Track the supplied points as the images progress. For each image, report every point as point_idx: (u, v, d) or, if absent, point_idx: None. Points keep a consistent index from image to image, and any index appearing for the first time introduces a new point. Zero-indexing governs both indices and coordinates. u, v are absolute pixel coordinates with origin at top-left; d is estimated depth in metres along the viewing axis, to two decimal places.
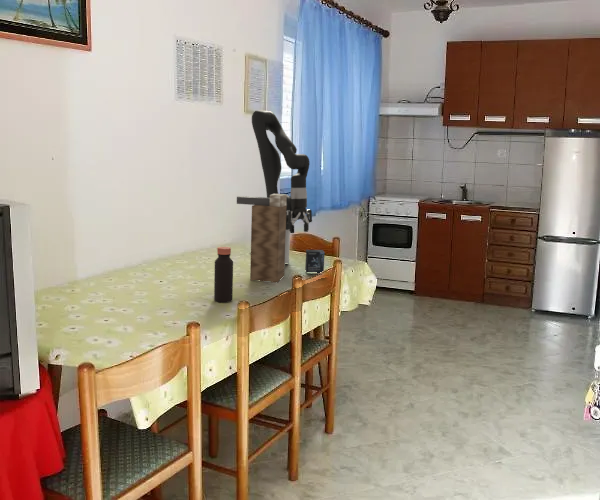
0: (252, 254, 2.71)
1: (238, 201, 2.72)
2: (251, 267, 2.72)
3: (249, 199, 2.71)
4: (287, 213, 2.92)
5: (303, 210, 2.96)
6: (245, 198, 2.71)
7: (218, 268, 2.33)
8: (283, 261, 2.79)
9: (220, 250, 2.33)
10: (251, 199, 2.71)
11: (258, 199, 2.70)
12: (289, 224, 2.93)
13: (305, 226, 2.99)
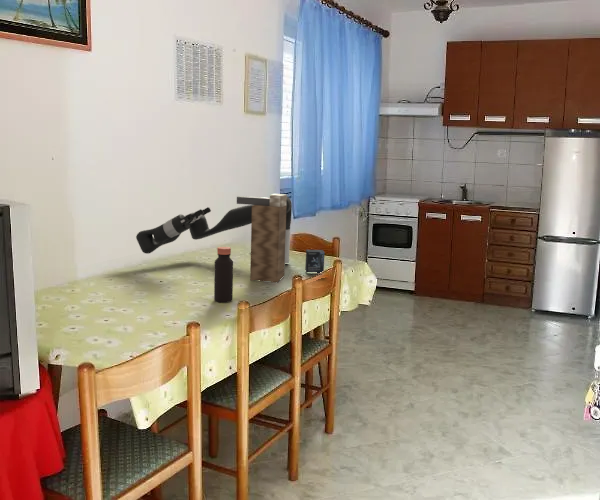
0: (252, 254, 2.71)
1: (238, 201, 2.72)
2: (251, 267, 2.72)
3: (249, 199, 2.71)
4: None
5: (186, 222, 2.79)
6: (245, 198, 2.71)
7: (218, 268, 2.33)
8: (283, 261, 2.79)
9: (220, 250, 2.33)
10: (251, 199, 2.71)
11: (258, 199, 2.70)
12: None
13: None
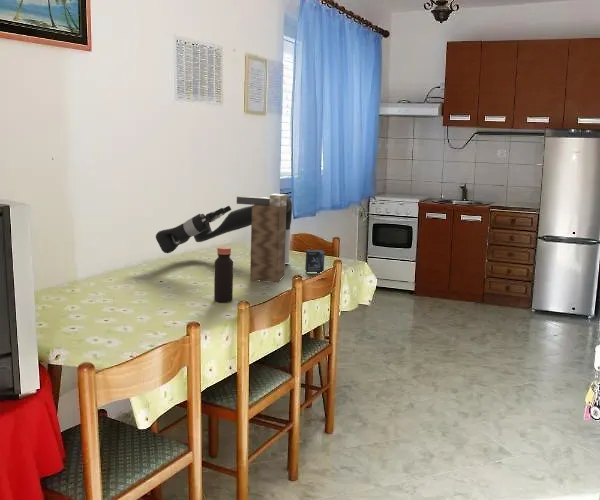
0: (252, 254, 2.71)
1: (238, 201, 2.72)
2: (251, 267, 2.72)
3: (249, 199, 2.71)
4: None
5: (207, 221, 2.77)
6: (245, 198, 2.71)
7: (218, 268, 2.33)
8: (283, 261, 2.79)
9: (220, 250, 2.33)
10: (251, 199, 2.71)
11: (258, 199, 2.70)
12: None
13: None
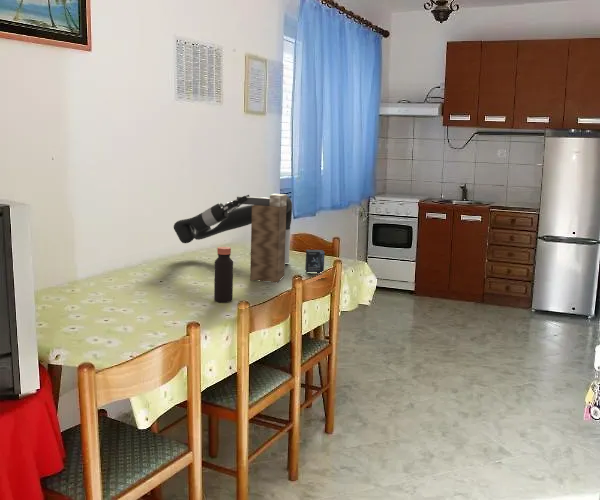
0: (252, 254, 2.71)
1: None
2: (251, 267, 2.72)
3: (249, 199, 2.71)
4: None
5: (226, 211, 2.74)
6: None
7: (219, 268, 2.33)
8: (283, 261, 2.79)
9: (220, 250, 2.33)
10: (251, 199, 2.71)
11: (258, 199, 2.70)
12: None
13: None
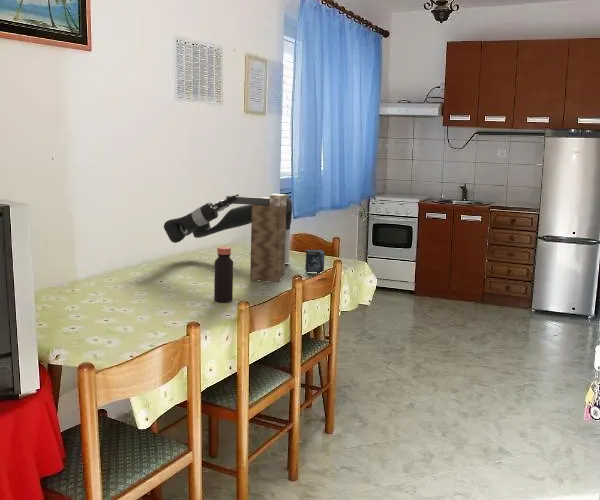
0: (252, 254, 2.71)
1: None
2: (251, 267, 2.72)
3: (238, 199, 2.72)
4: None
5: (215, 211, 2.75)
6: None
7: (219, 268, 2.33)
8: (283, 261, 2.79)
9: (220, 250, 2.33)
10: (240, 198, 2.72)
11: (247, 198, 2.71)
12: None
13: None
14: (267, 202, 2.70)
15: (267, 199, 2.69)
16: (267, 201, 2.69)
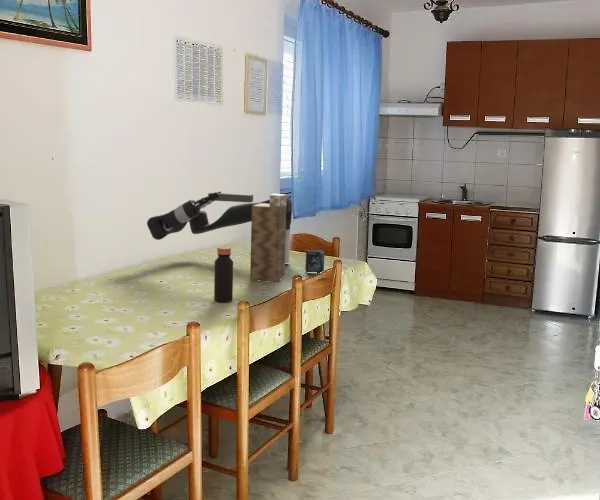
0: (252, 254, 2.71)
1: None
2: (251, 267, 2.72)
3: (220, 196, 2.74)
4: None
5: (197, 208, 2.77)
6: None
7: (218, 268, 2.33)
8: (283, 261, 2.79)
9: (220, 250, 2.33)
10: (222, 195, 2.73)
11: (229, 195, 2.73)
12: None
13: None
14: (248, 199, 2.71)
15: (248, 196, 2.71)
16: (248, 198, 2.71)
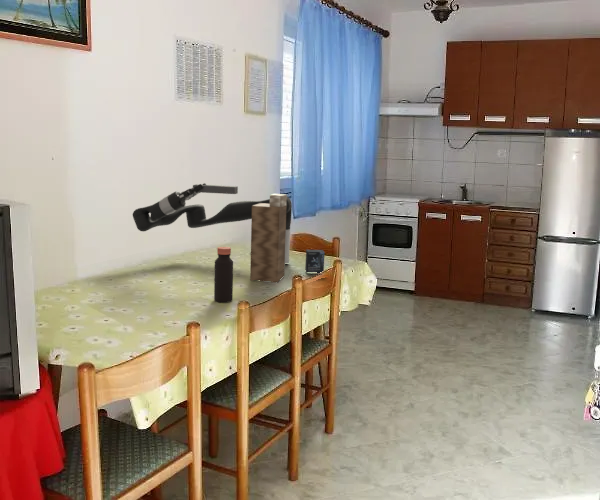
0: (252, 254, 2.71)
1: None
2: (251, 267, 2.72)
3: (204, 187, 2.75)
4: None
5: (182, 199, 2.78)
6: None
7: (219, 268, 2.33)
8: (283, 261, 2.79)
9: (220, 250, 2.33)
10: (207, 187, 2.74)
11: (214, 187, 2.74)
12: None
13: None
14: (233, 191, 2.72)
15: (233, 188, 2.72)
16: (233, 190, 2.72)
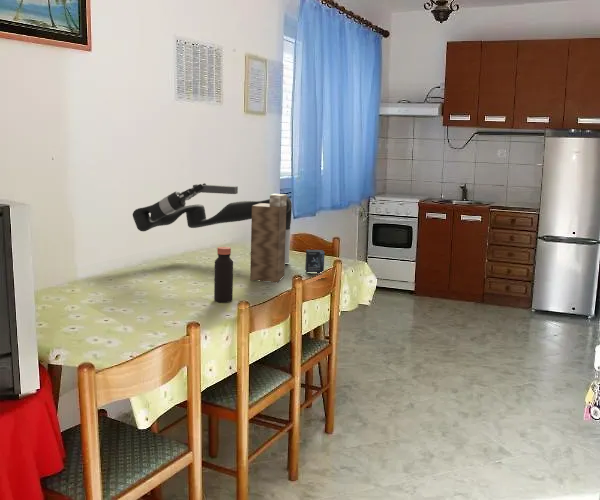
0: (252, 254, 2.71)
1: None
2: (251, 267, 2.72)
3: (204, 187, 2.75)
4: None
5: (182, 199, 2.78)
6: None
7: (219, 268, 2.33)
8: (283, 261, 2.79)
9: (220, 250, 2.33)
10: (207, 187, 2.74)
11: (214, 187, 2.74)
12: None
13: None
14: (233, 191, 2.72)
15: (233, 188, 2.72)
16: (233, 190, 2.72)
